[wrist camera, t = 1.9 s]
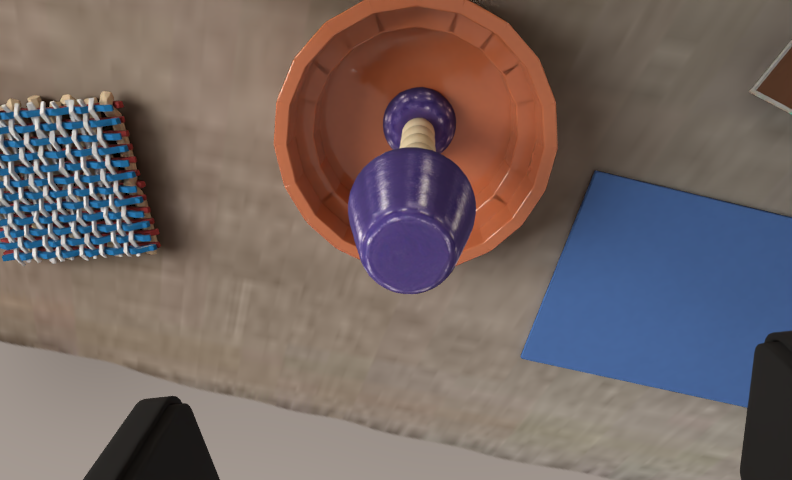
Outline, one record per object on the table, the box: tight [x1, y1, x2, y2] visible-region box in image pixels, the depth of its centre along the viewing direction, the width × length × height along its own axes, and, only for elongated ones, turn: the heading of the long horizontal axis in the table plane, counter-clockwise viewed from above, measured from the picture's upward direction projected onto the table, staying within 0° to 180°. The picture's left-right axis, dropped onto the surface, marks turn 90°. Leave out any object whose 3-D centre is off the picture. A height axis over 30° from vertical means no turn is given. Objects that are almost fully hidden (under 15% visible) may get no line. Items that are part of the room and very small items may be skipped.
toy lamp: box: [348, 87, 476, 294], centre depth 24 cm, size 5×5×17 cm
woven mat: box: [0, 91, 161, 266], centre depth 33 cm, size 10×11×2 cm
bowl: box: [274, 0, 558, 266], centre depth 30 cm, size 14×14×4 cm
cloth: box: [521, 170, 792, 408], centre depth 36 cm, size 18×14×1 cm
